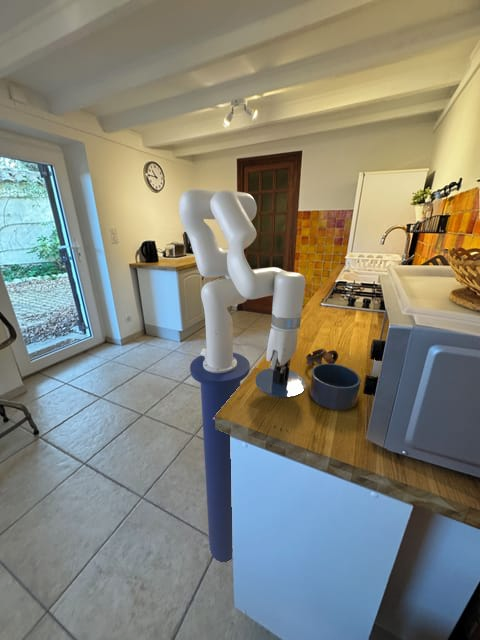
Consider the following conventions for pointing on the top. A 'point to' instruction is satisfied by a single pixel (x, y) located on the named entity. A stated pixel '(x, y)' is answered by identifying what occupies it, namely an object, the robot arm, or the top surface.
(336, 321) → the top surface
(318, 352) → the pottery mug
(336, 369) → the bowl
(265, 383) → the bowl lid
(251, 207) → the robot arm
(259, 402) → the top surface
